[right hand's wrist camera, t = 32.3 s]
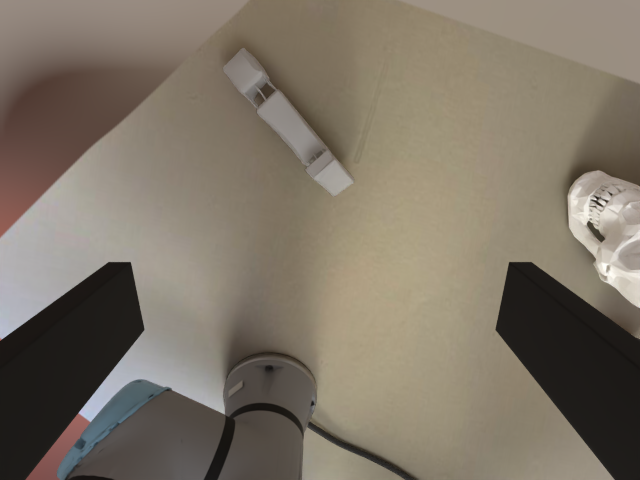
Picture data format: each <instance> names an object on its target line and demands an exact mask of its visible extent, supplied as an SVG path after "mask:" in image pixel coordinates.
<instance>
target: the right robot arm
mask: <svg viewBox="0 0 640 480" xmlns="http://www.w3.org/2000/svg"><path fill="white" fill-rule="evenodd" d="M143 331H144V325H143V320H142V315H141V310H140V305H139V300H138V296H137V291H136V286H135V281H134V276H133V271H132V266H131V262H108V263H107V264H106V265H104V266H103V267H101V268H100V269H99V270H97V271H96V272H94V273H93V274H92V275H90V276H89V277H88V278H86V279H85V280H83V281H82V282H81V283H79V284H78V285H77V286H75V287H74V288H72V289H71V290H70V291H68V292H67V293H66V294H64V295H63V296H61V297H60V298H59V299H57V300H56V301H54V302H53V303H52V304H50V305H49V306H48V307H46V308H45V309H43V310H42V311H41V312H39V313H38V314H37V315H35V316H34V317H32V318H31V319H30V320H28V321H27V322H26V323H24V324H23V325H21V326H20V327H19V328H17V329H16V330H14V331H13V332H12V333H10V334H9V335H8V336H6V337H5V338H3V339H2V340H1V341H0V480H25V479H26V478H27V477H28V476H29V474H30V473H31V472H32V471H33V469H34V468H35V467H36V466H37V464H38V463H39V462H40V460H41V459H42V458H43V457H44V455H45V454H46V453H47V452H48V450H49V449H50V448H51V447H52V445H53V444H54V443H55V442H56V440H57V439H58V438H59V437H60V435H61V434H62V433H63V432H64V430H65V429H66V428H67V427H68V425H69V424H70V423H71V421H72V420H73V419H74V418H75V416H76V415H77V414H78V413H79V411H80V410H81V409H82V408H83V406H84V405H85V404H86V403H87V401H88V400H89V399H90V398H91V396H92V395H93V394H94V393H95V391H96V390H97V389H98V388H99V386H100V385H101V384H102V383H103V381H104V380H105V379H106V377H107V376H108V375H109V374H110V372H111V371H112V370H113V369H114V367H115V366H116V365H117V364H118V362H119V361H120V360H121V359H122V357H123V356H124V355H125V354H126V352H127V351H128V350H129V349H130V347H131V346H132V345H133V344H134V342H135V341H136V340H137V339H138V337H139V336H140V335H141V333H142V332H143ZM496 331H497V332H498V333H499V335H500V336H501V337H502V339H503V340H504V341H505V342H506V344H507V345H508V346H509V347H510V349H511V350H512V351H513V352H514V354H515V355H516V356H517V357H518V359H519V360H520V361H521V362H522V364H523V365H524V366H525V367H526V369H527V370H528V371H529V372H530V374H531V375H532V376H533V377H534V379H535V380H536V381H537V383H538V384H539V385H540V386H541V388H542V389H543V390H544V391H545V393H546V394H547V395H548V396H549V398H550V399H551V400H552V401H553V403H554V404H555V405H556V406H557V408H558V409H559V410H560V411H561V413H562V414H563V415H564V416H565V418H566V419H567V420H568V422H569V423H570V424H571V425H572V427H573V428H574V429H575V430H576V432H577V433H578V434H579V435H580V437H581V438H582V439H583V440H584V442H585V443H586V444H587V445H588V447H589V448H590V449H591V450H592V452H593V453H594V454H595V455H596V457H597V458H598V459H599V460H600V462H601V463H602V464H603V466H604V467H605V468H606V469H607V471H608V472H609V473H610V474H611V476H612V477H613V478H614V479H615V480H640V339H638V338H635V337H634V336H632V335H631V334H630V333H628V332H627V331H626V330H624V329H623V328H621V327H620V326H619V325H617V324H616V323H614V322H613V321H612V320H610V319H609V318H608V317H606V316H605V315H603V314H602V313H601V312H599V311H598V310H597V309H595V308H594V307H592V306H591V305H590V304H588V303H587V302H586V301H584V300H583V299H581V298H580V297H579V296H577V295H576V294H574V293H573V292H572V291H570V290H569V289H568V288H566V287H565V286H563V285H562V284H561V283H559V282H558V281H557V280H555V279H554V278H552V277H551V276H550V275H548V274H547V273H546V272H544V271H543V270H541V269H540V268H539V267H537V266H536V265H534V264H533V263H532V262H509V266H508V271H507V276H506V281H505V286H504V291H503V296H502V300H501V305H500V310H499V315H498V320H497V325H496ZM223 399H224V406H225V415H224V414H222V413H220V412H218V411H216V410H214V409H211V408H209V407H207V406H205V405H203V404H201V403H198V402H196V401H194V400H192V399H190V398H188V397H185V396H183V395H181V394H179V393H177V392H175V391H172V389H171V388H169V387H162V386H159V385H157V384H154V383H152V382H149V381H147V380H142V379H141V380H135V381H132V382H130V383H129V384H127V385H125V386H124V387H123V388H122V389H121V390H120V391H119V392H117V393H116V394H115V396H114V397H113V398H112V399H111V400H110V401H109V402H108V403H107V404H106V405H105V406H104V407H103V409H102V410H101V411H100V412H99V413H98V414H97V416H96V417H95V418H94V419H93V420H92V422H91V423H90V424H89V425H88V427H87V428H86V429H85V430H84V432H83V433H82V434H81V437H80V439H78V440H77V442H76V443H75V444H74V446H73V447H72V448H71V449H70V450H69V452H68V453H67V454H66V456H65V458H64V459H63V461H62V462H61V464H60V466H59V468H58V470H57V477H58V478H59V479H60V480H302V462H303V437H304V432H305V430H306V427H308V428H310V429H311V430H313V431H314V432H316V433H318V434H319V435H321V436H322V437H324V438H325V439H327V440H329V441H330V442H332V443H334V444H336V445H337V446H339V447H342V448H344V449H346V450H348V451H350V452H353V453H355V454H358V455H360V456H362V457H365V458H367V459H369V460H371V461H373V462H375V463H377V464H379V465H381V466H383V467H385V468H387V469H389V470H390V471H392V472H394V473H396V474H397V475H399V476H401V477H402V478H404V479H405V480H415V479H413V478H412V477H410V476H409V475H407V474H406V473H404V472H403V471H401V470H400V469H398V468H396V467H394V466H393V465H391V464H389V463H387V462H385V461H383V460H381V459H379V458H377V457H376V456H374V455H371V454H369V453H367V452H365V451H363V450H360V449H358V448H356V447H353V446H351V445H349V444H346V443H344V442H342V441H340V440H338V439H336V438H335V437H333V436H331V435H330V434H328V433H327V432H325V431H324V430H322V429H321V428H319V427H317V426H316V425H314V424H313V423H311V422H310V418H311V416H312V414H313V412H314V409H315V405H316V400H317V387H316V382H315V380H314V377H313V375H312V374H311V372H310V371H309V370H308V369H307V368H306V367H305V366H304V365H303V364H302V363H300V362H299V361H297V360H296V359H294V358H291V357H289V356H286V355H282V354H277V353H261V354H256V355H253V356H250V357H247V358H245V359H243V360H242V361H240V362H239V363H238V364H237V365H235V366H234V368H233V369H232V370H231V371H230V373H229V375H228V378H227V380H226V383H225V387H224V394H223Z"/></svg>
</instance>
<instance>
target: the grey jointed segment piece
mask: <svg viewBox="0 0 640 480" xmlns="http://www.w3.org/2000/svg"><path fill="white" fill-rule="evenodd" d="M223 70H224V72H225V74H226V75H227V76H228V78H229V79H230V80H231V82H232V83H233V84H234V86H235V87H236V88H237V90H238V91H239V92H240V93H241V94H242V95H244V96H245V97H246V98H247V99H248V100H249V101H250V102H251V103H252V104H253V105H254V106H255V108H256V109H257V111H256V112H257V114H258V115H259V116H260V117H261V118H262V119H263V120H264V121H265V122H266V123H267V124H268V125H269V126H270V127H271V128H272V129H273V130H274V131H275V132H276V133H277V134H278V135H279V136H280V137H281V138H282V139H283V141H284V142H285V143H286V144H287V145H288V146H289V147H290V148H291V149H292V151H293V152H294V153H295V154H296V156H297V157H298V158H299V159H300V161H301V162H302V163H303V164H304V165H305V166H307V168H306V169H305V171H306V172H307V173H308V174H309V175H310V176H311V177H312V178H313V179H314V180H315V181H316V182H318V183H319V184H320V185H321V186H322V187H323V188H325V189H326V190H327V191H328V192H329V193H330V194H331V195H332V196H336V195H338V194H339V193H340V192H342V191H343V190H344V189H346V188H347V187H348V186H350V185H351V184H352V183H353V182H354V178H353V176H352V175H351V174H350V173H349V172H348V171H347V170H346V169H345V167H344V166H343V165H342V164H341V163H340V162H339V161H338V160H337V159H336V157H335V156H334V155H333V154H332V153H331V151H330V150H329V148H328V147H327V146H326V145H325V144H324V143H323V141H322V140H321V139H320V138H319V137H318V135H317V134H316V133H315V132H314V130H313V129H312V128H311V127H310V126H309V124H308V123H307V122H306V121H305V120H304V118H303V117H302V116H301V115H300V113H299V112H298V111H297V110H296V109H295V107H294V106H293V105H292V104H291V103H290V101H289V100H288V99H287V98H286V96H285V95H284V94H283V93H282V92H281V91H280V90H279V89H276V88H275V87H274V86H273V85H272V83H271V82H270V81H269V80H270V79H269V77H268V75H267V73H266V71H265V69H264V68H263V67H262V66H261V64H260V63H259V62H258V61H257V59H256V58H255V57H254V56H253V55H251V54H250V53H249V52H248V51H247V50H246V49H245V48H242V49H241V50H240V51H239V52H238V53H237V54H236V55H235V56H234V57H233V58H232V59H231V60H230V61H229V62H228V63H227V64H226V65H225V66H224V67H223ZM266 83H268V85H269V86H271V87H272V88H273V89H274V90H275V91H274V92H273V93H272V94H271V95H270V96H269V97H268V98H266V97H265V96H264V95H263V93H262V92H261V91H260V89H261V88H262V87H263V86H264V85H265V84H266ZM258 92H259V93H260V94H261V95H262V96H263V98H264V100H265V101H264V102H263V103H262V104H261V105H260V106H258V105H257V103H256V102H255V101H254V99H255V97H256V96H257V94H258ZM252 101H253V102H254V103H255V104H254V103H253V102H252Z"/></svg>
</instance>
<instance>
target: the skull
mask: <svg viewBox="0 0 640 480" xmlns="http://www.w3.org/2000/svg"><path fill="white" fill-rule="evenodd" d="M605 187H606V188H605ZM602 190H605V191H602ZM607 191H608V192H610V193H612V194H613V195H612V196H610V194H609V193H608V192H607ZM597 192H598V193H597ZM599 193H600V194H601V195H600V194H599ZM594 195H595V196H597V197H599V198H600V197H601V198H602V199H605V200H608V201H609V202H608V203H606V202H605V201H603V200H602V199H599V200H598V202H599V203H601V204H602V205H603V206H604V207H601V206H599V205H596V203H595V202H593V201H592V199H593V200H597V199H596V198H595V197H594ZM593 206H596V207H597V208H595V207H593ZM591 210H592V211H591ZM599 214H600V215H599ZM568 216H569V228H570V230H571V232H572V233H573V235H574V237H575V238H577V239H578V240H579V241H580V242H581V243H582V244H583V245H584V246H585V247H586V248H587V249H588V250H589V251H590V252H591V253H592V254H593V255H594V256H595V258H596V261H595V262H594V263H593V264H594V266H595V268H596V269H597V271H598V273H599V277H600V279H601V280H602V281H605V282H607V283H609V284H610V285H612V286H613V287H615V288H616V289H617V290H618V291H619V292H620V293H621V294H622V295H623V296H624V297H625V298H626V299H627V300H628V301H629V302H631V303H632V304H634V305H635V306H637V307H639V308H640V186H638V185H636V184H633V183H630V182H627V181H624V180H622V179H619V178H615V177H611V176H609V175H607V174H606V173H604V172H602V171H599V170H597V171H592V172H587V173H585V174H583V175H582V176H581V177H579V178H578V179H576V180H575V182H574V183H573V185H572V186H571V187H570V190H569V193H568ZM588 221H590V222H591V223H593V226H594V227H595V228H596V229H598V230H599V232H600V234H601V235H602V236H604V238H605V240H604V241H603V242H602V243H601V242H600V241H599V240H598V239H597V238H596V237H595V235H594V234H593V233H592V231H591V230H590V229H589V227H588V226H587V222H588Z"/></svg>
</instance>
